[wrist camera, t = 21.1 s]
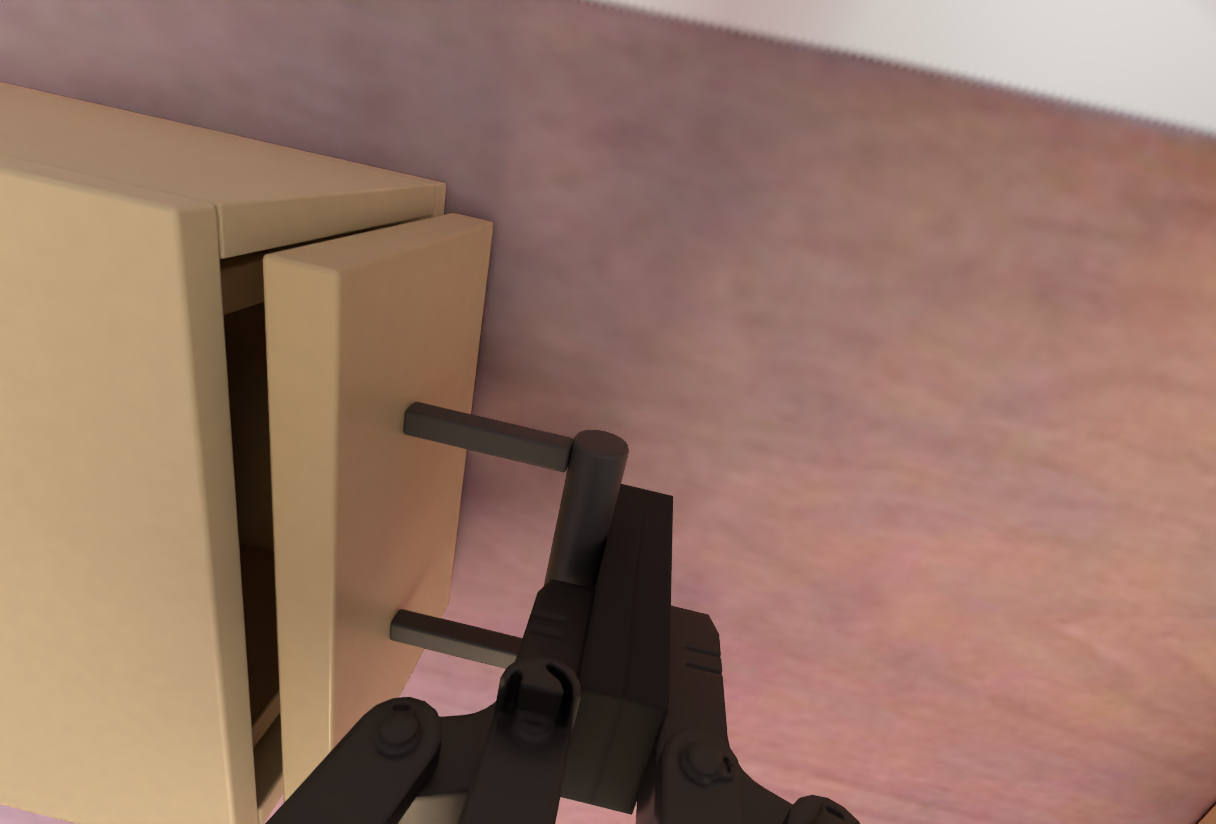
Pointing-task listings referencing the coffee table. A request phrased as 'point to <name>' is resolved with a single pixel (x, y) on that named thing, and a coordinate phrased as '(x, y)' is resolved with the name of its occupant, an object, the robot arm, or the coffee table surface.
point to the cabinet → (137, 451)
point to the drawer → (371, 469)
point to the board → (1209, 817)
